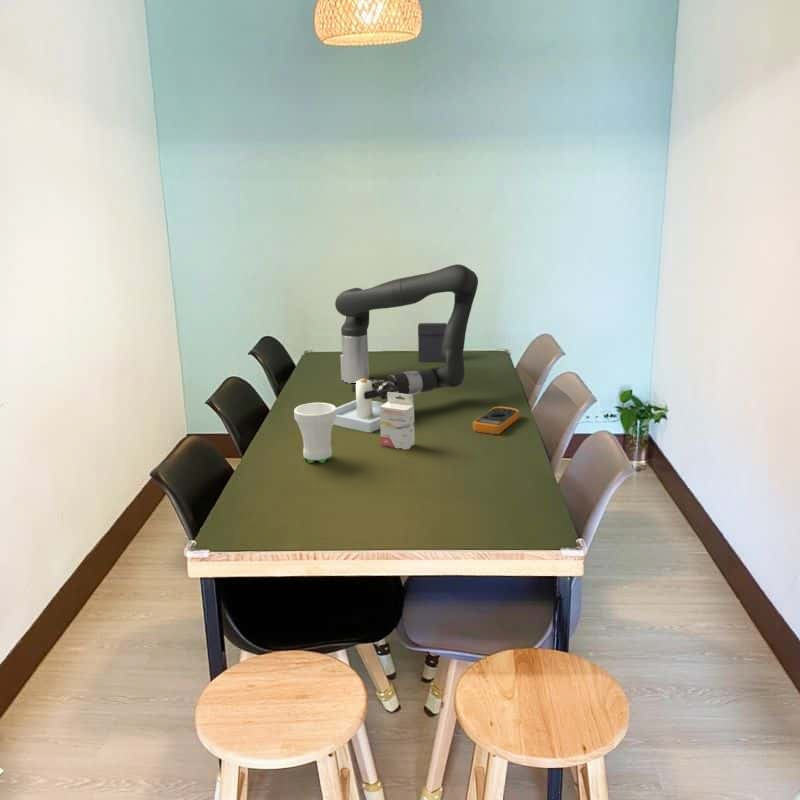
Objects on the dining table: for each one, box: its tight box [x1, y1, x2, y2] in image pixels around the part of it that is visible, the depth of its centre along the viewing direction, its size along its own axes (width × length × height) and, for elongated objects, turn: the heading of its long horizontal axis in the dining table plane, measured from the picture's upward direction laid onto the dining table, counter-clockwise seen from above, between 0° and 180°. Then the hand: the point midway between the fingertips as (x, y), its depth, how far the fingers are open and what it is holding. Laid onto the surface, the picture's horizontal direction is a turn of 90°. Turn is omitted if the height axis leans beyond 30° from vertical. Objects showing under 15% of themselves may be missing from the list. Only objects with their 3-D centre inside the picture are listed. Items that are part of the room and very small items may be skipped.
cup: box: [293, 402, 337, 464], centre depth 210 cm, size 11×11×14 cm
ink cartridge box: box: [380, 392, 416, 450], centre depth 218 cm, size 9×5×15 cm, turn 65°
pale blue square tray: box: [333, 399, 386, 434], centre depth 243 cm, size 18×18×3 cm
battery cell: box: [355, 378, 373, 419], centre depth 241 cm, size 5×5×12 cm
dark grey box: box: [417, 322, 447, 363], centre depth 308 cm, size 11×4×15 cm, turn 84°
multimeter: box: [472, 406, 520, 435], centre depth 235 cm, size 9×18×3 cm, turn 151°
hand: (358, 392), depth 240 cm, fingers open, 8 cm apart
